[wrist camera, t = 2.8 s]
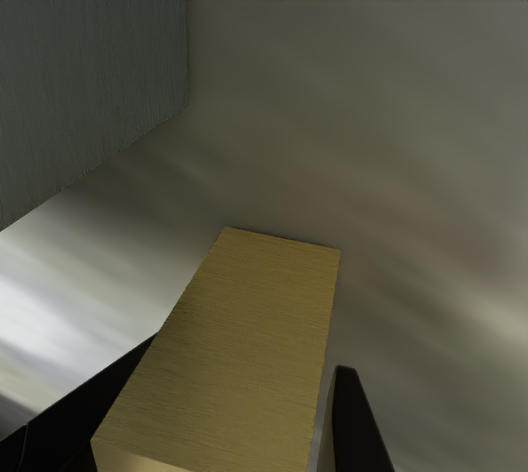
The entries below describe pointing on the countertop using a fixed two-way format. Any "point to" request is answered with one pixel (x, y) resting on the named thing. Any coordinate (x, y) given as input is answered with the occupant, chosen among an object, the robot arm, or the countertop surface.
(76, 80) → the box
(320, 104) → the countertop surface
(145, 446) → the block
